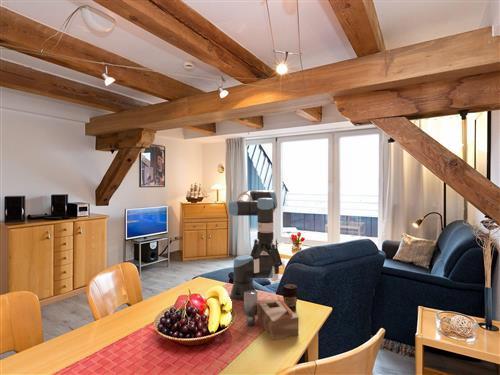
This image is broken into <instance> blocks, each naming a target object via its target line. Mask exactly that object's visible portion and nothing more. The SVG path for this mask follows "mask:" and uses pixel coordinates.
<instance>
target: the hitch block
mask: <svg viewBox="0 0 500 375" xmlns="http://www.w3.org/2000/svg"><path fill="white" fill-rule="evenodd" d="M289 309H290V308H289ZM290 311H291V312H292V314H293V315H292V316H291V315H290V314H289V313H288V312H287V311H286V309H285V308H284V307H283V305H282V304H281V302H280V301H279V300H278V299H274V300H267V301H257V318H258V321H259V322H260V323H261V325H262V326H263V328H264V329H265V331H266V332H267V334H268V336H270V338H271V339H272V340H273V341H276V340H281V339H285V338H286V339H287V338H291V337H298V336H299V335H300V334H299V333H300V332H299V316H298V315H297V314H296V312H293V311H292V310H291V309H290Z"/></svg>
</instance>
